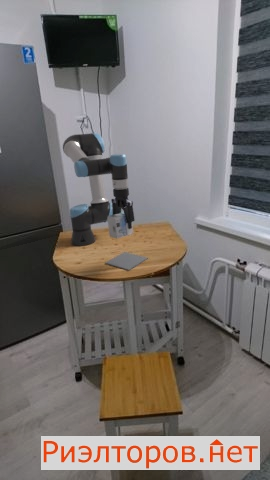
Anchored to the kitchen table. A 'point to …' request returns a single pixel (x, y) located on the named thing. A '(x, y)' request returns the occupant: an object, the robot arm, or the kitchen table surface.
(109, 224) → the light bulb box
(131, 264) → the grey mat
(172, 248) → the kitchen table surface
